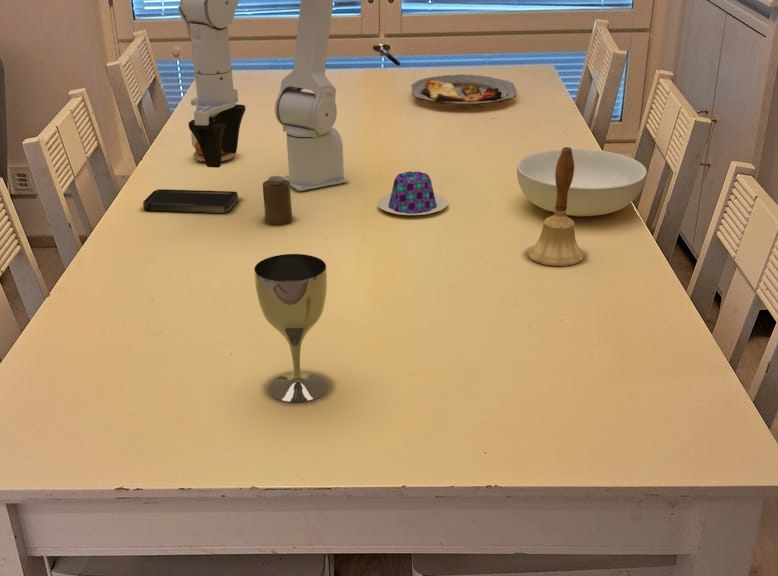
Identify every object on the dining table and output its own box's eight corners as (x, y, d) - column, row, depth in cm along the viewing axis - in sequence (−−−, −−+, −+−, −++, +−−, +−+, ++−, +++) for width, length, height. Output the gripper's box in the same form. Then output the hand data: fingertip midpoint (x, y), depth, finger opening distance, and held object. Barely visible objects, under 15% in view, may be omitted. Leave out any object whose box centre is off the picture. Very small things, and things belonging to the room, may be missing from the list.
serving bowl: (564, 239, 159) (568, 195, 155) (490, 200, 174) (492, 159, 170) (668, 215, 166) (674, 173, 163) (588, 180, 182) (592, 141, 178)
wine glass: (264, 373, 124) (254, 255, 116) (329, 370, 125) (324, 252, 116) (264, 406, 118) (253, 283, 109) (333, 402, 118) (328, 279, 110)
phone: (155, 189, 179) (239, 191, 177) (156, 195, 179) (239, 197, 177) (140, 204, 172) (227, 206, 170) (141, 210, 173) (227, 213, 171)
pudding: (362, 208, 172) (361, 177, 169) (408, 190, 179) (409, 160, 176) (416, 224, 165) (416, 192, 162) (462, 205, 172) (463, 174, 169)
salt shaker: (285, 214, 171) (282, 172, 167) (296, 222, 167) (294, 179, 163) (261, 219, 169) (257, 176, 165) (272, 227, 166) (269, 184, 162)
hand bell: (587, 248, 155) (599, 142, 146) (578, 269, 149) (590, 158, 140) (533, 243, 158) (541, 137, 149) (522, 263, 151) (530, 154, 142)
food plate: (521, 112, 221) (522, 95, 219) (413, 114, 221) (413, 97, 219) (509, 84, 241) (510, 68, 239) (410, 86, 242) (410, 70, 240)
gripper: (205, 59, 164) (214, 145, 172) (170, 80, 152) (182, 172, 160) (246, 60, 162) (254, 147, 170) (215, 82, 151) (224, 174, 159)
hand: (222, 159), depth 165 cm, fingers open, 7 cm apart
